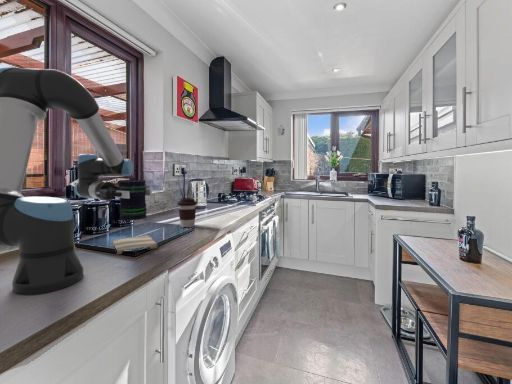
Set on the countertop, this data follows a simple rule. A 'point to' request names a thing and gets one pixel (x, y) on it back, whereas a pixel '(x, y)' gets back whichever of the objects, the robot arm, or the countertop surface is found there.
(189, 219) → the coffee cup
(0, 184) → the robot arm
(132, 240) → the birch board
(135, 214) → the storage jar
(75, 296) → the countertop surface
